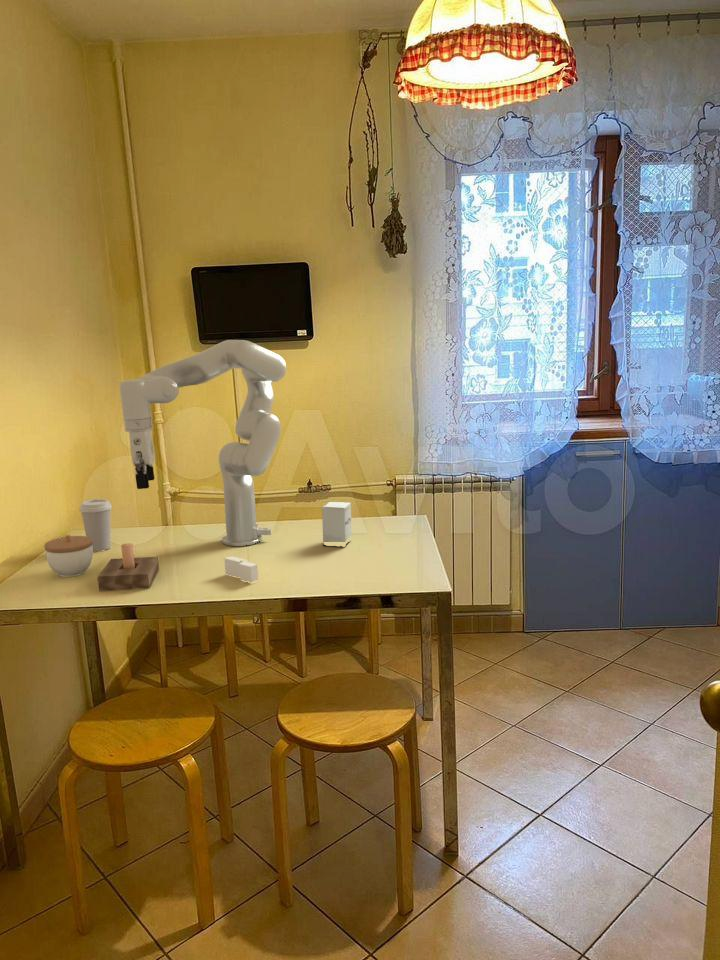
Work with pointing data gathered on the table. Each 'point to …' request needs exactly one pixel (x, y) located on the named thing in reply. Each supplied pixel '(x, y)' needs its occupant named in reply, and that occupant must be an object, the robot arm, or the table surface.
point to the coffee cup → (97, 522)
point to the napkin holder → (241, 569)
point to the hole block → (128, 574)
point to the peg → (128, 556)
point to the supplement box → (336, 521)
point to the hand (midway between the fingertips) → (146, 484)
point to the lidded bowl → (69, 555)
